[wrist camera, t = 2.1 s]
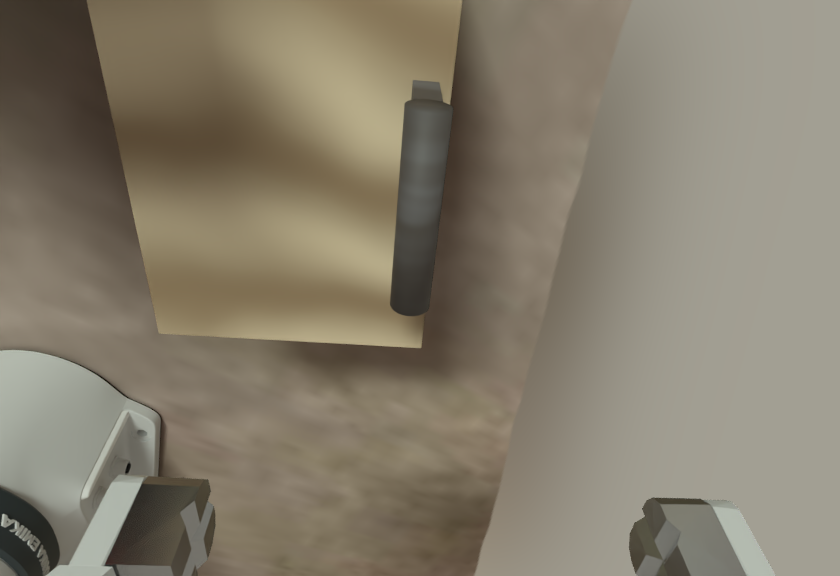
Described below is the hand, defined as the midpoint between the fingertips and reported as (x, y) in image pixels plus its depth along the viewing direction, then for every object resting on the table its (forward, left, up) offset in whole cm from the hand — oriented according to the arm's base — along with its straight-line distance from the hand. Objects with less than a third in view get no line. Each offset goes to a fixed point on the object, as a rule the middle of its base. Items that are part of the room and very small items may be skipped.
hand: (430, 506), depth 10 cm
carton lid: (0, +5, -16) cm, 17 cm away
